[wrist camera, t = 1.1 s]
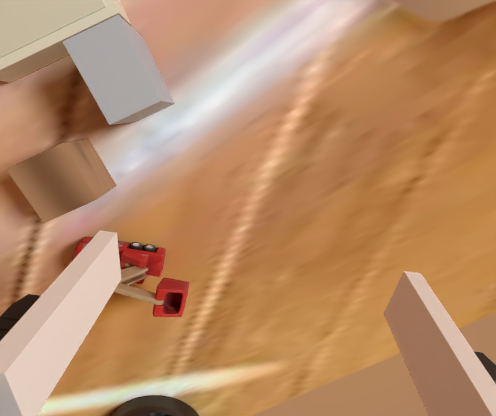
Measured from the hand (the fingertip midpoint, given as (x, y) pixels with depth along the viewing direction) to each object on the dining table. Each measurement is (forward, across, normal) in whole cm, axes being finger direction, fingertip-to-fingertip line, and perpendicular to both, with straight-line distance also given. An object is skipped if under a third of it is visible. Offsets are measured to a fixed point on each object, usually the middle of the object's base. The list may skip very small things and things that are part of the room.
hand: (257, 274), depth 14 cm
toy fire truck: (+20, +14, +16) cm, 29 cm away
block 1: (+21, +20, +6) cm, 30 cm away
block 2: (+24, +14, -4) cm, 28 cm away
